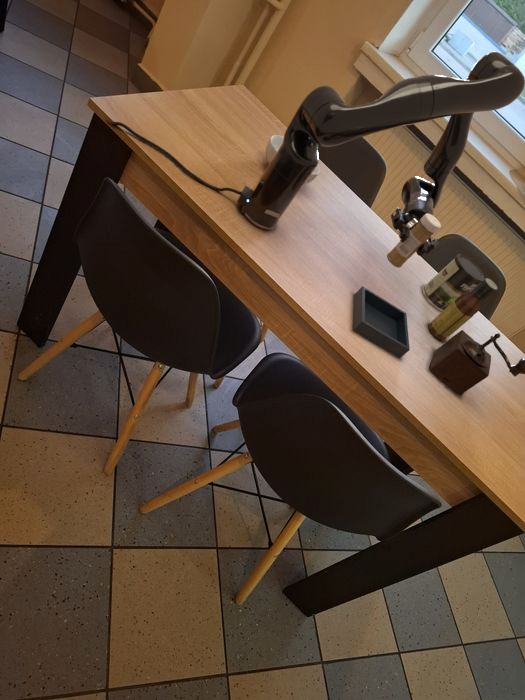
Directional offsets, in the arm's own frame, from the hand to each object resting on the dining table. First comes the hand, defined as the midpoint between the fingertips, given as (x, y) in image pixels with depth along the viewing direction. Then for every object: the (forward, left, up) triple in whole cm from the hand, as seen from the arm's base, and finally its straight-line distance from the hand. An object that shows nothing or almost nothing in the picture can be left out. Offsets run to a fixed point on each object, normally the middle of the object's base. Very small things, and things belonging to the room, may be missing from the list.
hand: (412, 245), depth 112 cm
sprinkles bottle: (0, +3, -7) cm, 8 cm away
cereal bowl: (-28, +39, -20) cm, 52 cm away
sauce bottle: (+27, +7, -20) cm, 34 cm away
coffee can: (+29, +24, -20) cm, 42 cm away
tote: (+6, -6, -20) cm, 21 cm away
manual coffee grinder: (+31, -9, -20) cm, 37 cm away
